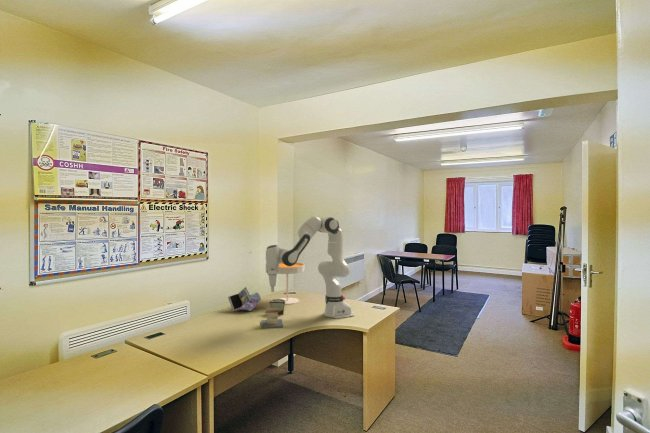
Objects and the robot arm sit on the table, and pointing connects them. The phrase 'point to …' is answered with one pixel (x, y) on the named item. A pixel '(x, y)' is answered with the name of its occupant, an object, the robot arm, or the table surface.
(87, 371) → the table surface
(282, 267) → the orange pedestal table
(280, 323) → the mat
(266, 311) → the tall wooden block
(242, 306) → the pastel lumpy piece
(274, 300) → the half chocolate cake
